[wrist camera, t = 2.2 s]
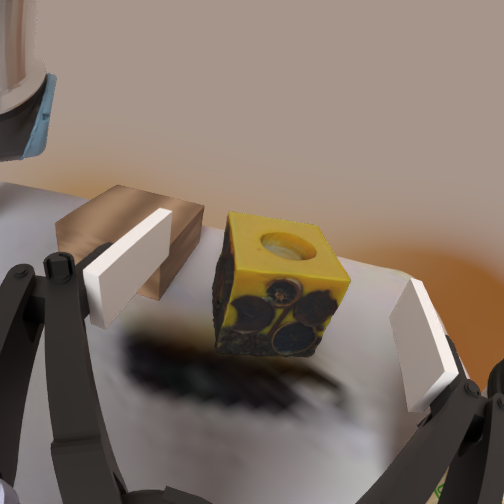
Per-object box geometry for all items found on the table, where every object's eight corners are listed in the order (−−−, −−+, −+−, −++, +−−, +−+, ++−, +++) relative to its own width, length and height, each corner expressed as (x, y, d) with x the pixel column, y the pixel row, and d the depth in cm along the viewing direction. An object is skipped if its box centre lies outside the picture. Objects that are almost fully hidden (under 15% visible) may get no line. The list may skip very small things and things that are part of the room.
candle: (211, 287, 36) (225, 209, 31) (293, 295, 38) (318, 223, 33) (212, 355, 27) (230, 267, 22) (314, 358, 29) (353, 280, 24)
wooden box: (60, 266, 32) (55, 223, 29) (116, 220, 44) (117, 184, 41) (158, 303, 32) (160, 256, 29) (198, 243, 44) (204, 205, 41)
